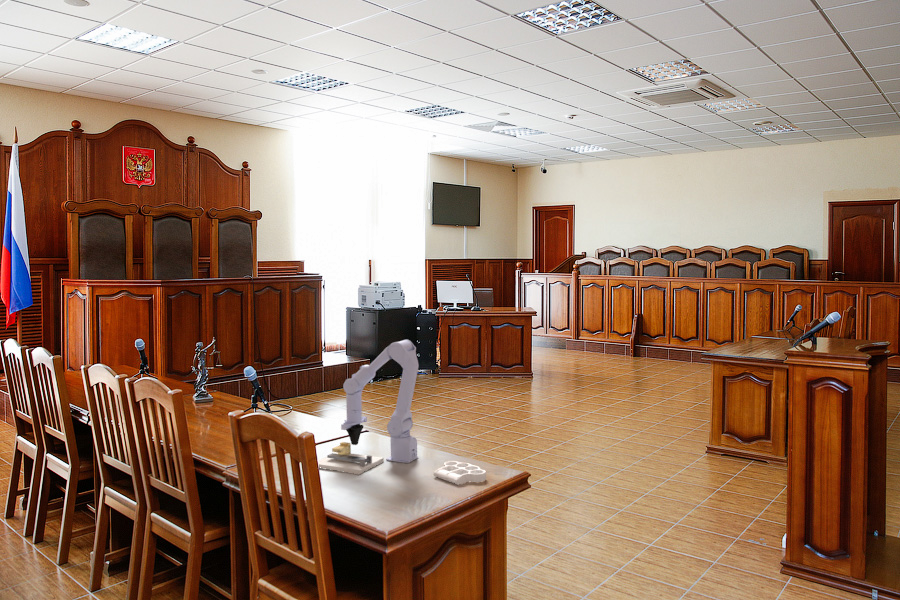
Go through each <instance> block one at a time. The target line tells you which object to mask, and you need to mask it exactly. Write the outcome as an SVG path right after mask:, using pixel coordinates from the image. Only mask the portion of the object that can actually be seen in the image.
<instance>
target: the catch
mask: <svg viewBox="0 0 900 600" xmlns="http://www.w3.org/2000/svg"><path fill="white" fill-rule="evenodd" d="M351 445H352V444H351V442H345V441H341V442H339V445H337V446H334V447H333V448H331V451H332V453H337V452H338V454H341V455H349V454H352V452H351V451H352V450H351V449H352V447H351Z"/></svg>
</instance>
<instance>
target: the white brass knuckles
mask: <svg viewBox="0 0 900 600" xmlns="http://www.w3.org/2000/svg"><path fill="white" fill-rule="evenodd" d="M433 476H434V477H435V478H437V477H438V478H439V479H441V480H443V481H446V482H450V483H452V484H454V483H455V485H457V486H460V485H459V484H461V485H463V484H462V483H464V484H466V483H465V482H469V481H471V482H481V481H485V480H486V481H487V471H486V470H485V469H482V468H481V467H480V466H478V465H473V464H471V463H468V462H460V461H457V460H448V461H444V463H443V466H442V467H439V468H437V469H436V470H435V471H433ZM486 481H485V482H486ZM471 482H469V483H471Z"/></svg>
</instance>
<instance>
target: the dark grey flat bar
mask: <svg viewBox="0 0 900 600" xmlns="http://www.w3.org/2000/svg"><path fill="white" fill-rule="evenodd" d="M326 457H327V458H334V459H341V460H348V461H356V462H360V459H365V463H366V462H368V461H369V460H370V458H369V457H367V458H364V457H356V456H349V455H341V454H334V452H332V453H330V454H328V455H326Z"/></svg>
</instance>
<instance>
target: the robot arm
mask: <svg viewBox="0 0 900 600" xmlns="http://www.w3.org/2000/svg"><path fill="white" fill-rule="evenodd" d="M416 351H417V347H416V345H414V343H413V342H412V341H411V340H409V339H403V340H400V341H394V342H392V343H390V344H389V345H388V346H387V347H385V348H384V349H383V351H382V352H381V353H380V354H379V355H377V357H376V358H375V359H374V360H372V361H371V363H369V364H364V365H361V366H359V370H358V371H357V372H355V373H353V374H351V378H346V379H345V381H344V383H343V384H342V385H343V386H342V388H343V390H344V392H345V393H346V395H345V396H346V397H345V398H346V399H345V400H346V401H345V402H346V419H344V422H343V423H342V424H341V427H340V429H341V430H344V431H346V432H347V434H348V437H349V439H350V443H351V445H353V446H358V444H359V441H360V436H361V434H362V431H363V430H364V425H363V423H367V422H368V417H367V416H362V415H363V412H362V411H363V409H362V406H363V405H362V394H363V390H364V388H365V386H366V385H367V384H368V383H369V382H371V380H373V379H374V378H375V377H376V372H377V371H378V370H379V369H380V368H381V367H383V366H384V365H385V364H386V363H387V362H388V361H390V360H392V359H393V360H394V361H395V362H397V364H399V365H400V366H401V368H402V374H401V378H400V384H399V389H398V394H397V395H398V396H397V400H396V405H395V409H394V411H393V413H392V414H391V417H390V420H389V421H388V423H387V425H386V430H387V432H388V434H389V436H390V437H389V438H390V456H389V457H387V458H386V459H385V460H386V461H389V462H398V463H404V464H409V463H411V462H413V461H414V460H416V459H418V458H419V456H418V440H417V437H415V436H412V435H411V430H412V428H413V424H414V423H413V413H412V411H411V407H412V402H413V397H414V392H415V387H416V381H417V376H418V371H419V360H418V357H417V352H416Z"/></svg>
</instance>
